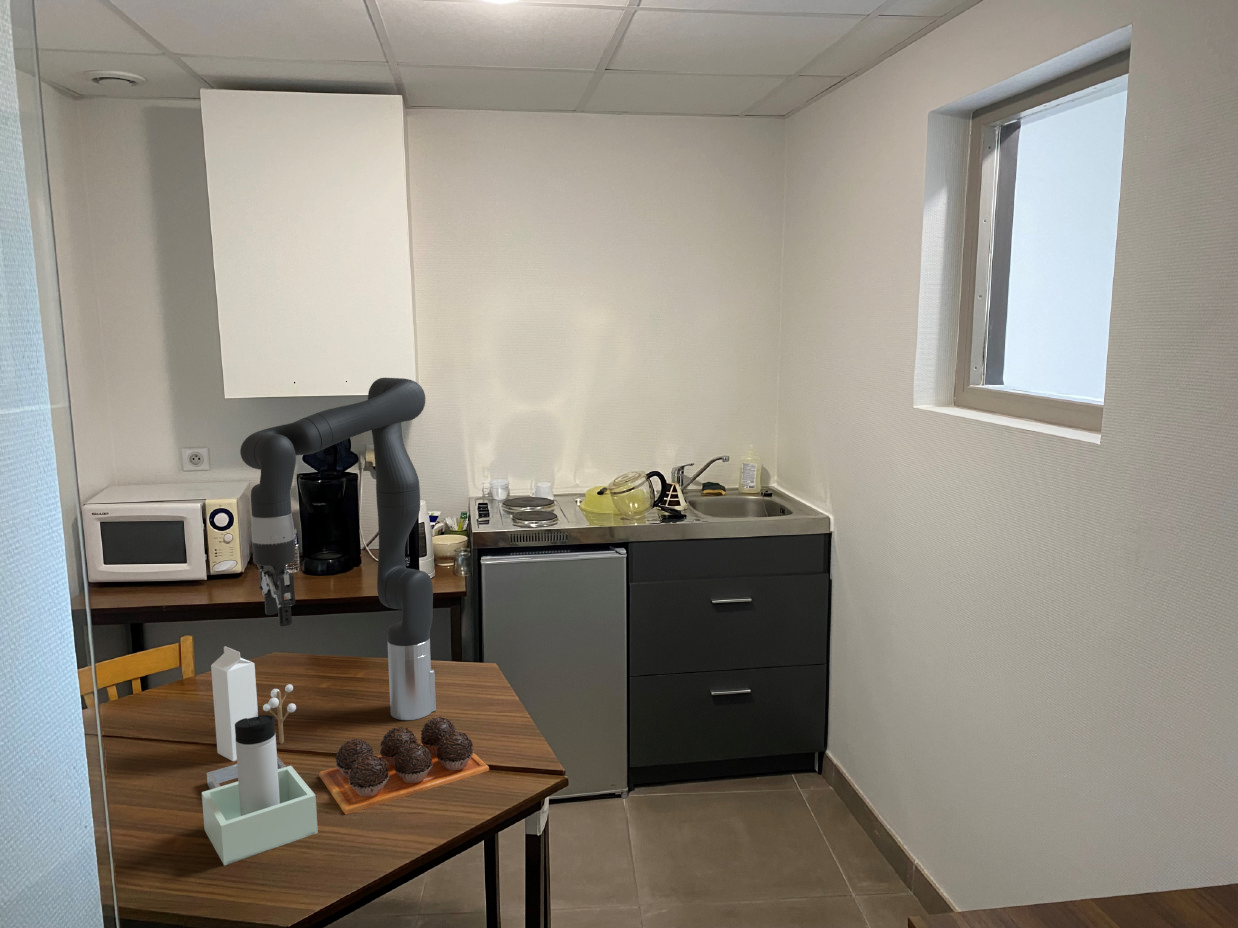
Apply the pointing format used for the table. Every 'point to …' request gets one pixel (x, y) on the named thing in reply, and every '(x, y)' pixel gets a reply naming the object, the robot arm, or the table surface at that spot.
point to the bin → (259, 818)
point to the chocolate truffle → (400, 765)
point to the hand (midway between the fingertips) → (278, 619)
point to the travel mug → (257, 763)
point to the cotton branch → (279, 708)
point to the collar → (228, 774)
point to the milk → (232, 698)
